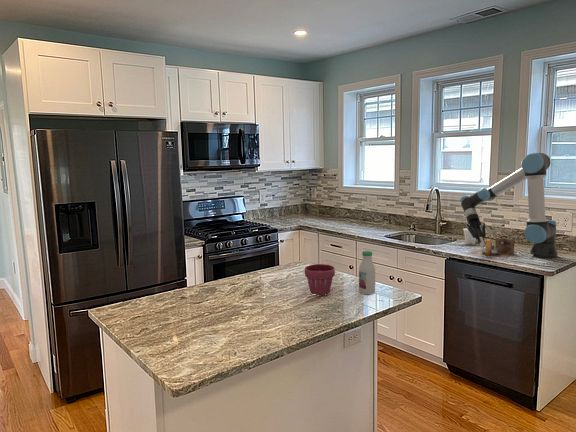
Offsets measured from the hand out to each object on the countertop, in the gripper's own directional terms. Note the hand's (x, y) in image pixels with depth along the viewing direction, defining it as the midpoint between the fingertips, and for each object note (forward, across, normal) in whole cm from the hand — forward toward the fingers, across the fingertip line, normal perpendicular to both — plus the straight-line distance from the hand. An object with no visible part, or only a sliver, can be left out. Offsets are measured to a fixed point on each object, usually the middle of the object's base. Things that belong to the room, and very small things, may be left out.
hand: (483, 246), depth 279 cm
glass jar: (-27, -20, -38) cm, 51 cm away
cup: (-21, -10, -31) cm, 38 cm away
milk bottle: (+48, +91, +40) cm, 110 cm away
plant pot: (+48, +114, +38) cm, 129 cm away
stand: (+2, -6, -7) cm, 10 cm away
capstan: (+3, -6, -5) cm, 8 cm away
